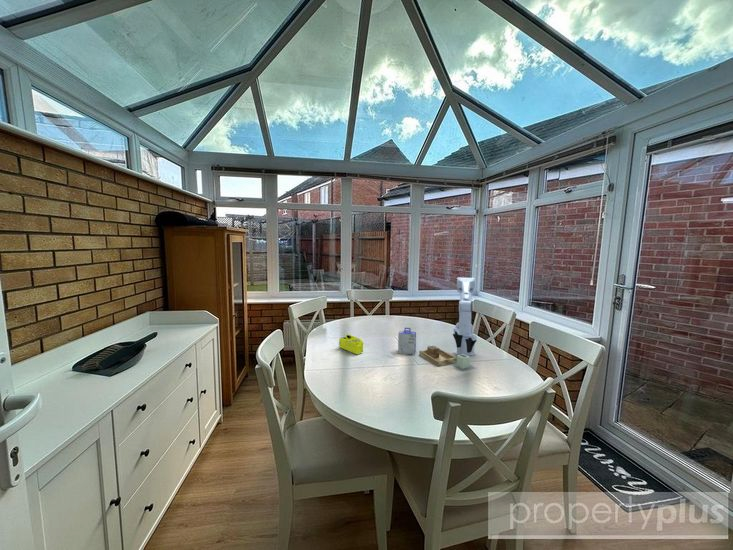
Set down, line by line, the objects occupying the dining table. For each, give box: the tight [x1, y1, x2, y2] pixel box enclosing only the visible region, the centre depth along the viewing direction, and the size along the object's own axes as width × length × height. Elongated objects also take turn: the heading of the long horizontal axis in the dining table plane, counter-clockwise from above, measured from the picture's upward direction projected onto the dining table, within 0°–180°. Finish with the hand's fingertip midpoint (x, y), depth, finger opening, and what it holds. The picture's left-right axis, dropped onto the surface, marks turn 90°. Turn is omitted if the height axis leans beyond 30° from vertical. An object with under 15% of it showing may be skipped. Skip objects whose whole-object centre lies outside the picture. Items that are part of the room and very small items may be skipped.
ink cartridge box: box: [397, 327, 417, 355], centre depth 173 cm, size 10×6×14 cm, turn 76°
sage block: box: [456, 354, 471, 369], centre depth 153 cm, size 4×4×6 cm
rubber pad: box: [449, 363, 477, 372], centre depth 154 cm, size 9×9×1 cm
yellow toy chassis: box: [338, 333, 364, 355], centre depth 177 cm, size 16×6×8 cm, turn 43°
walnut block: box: [426, 345, 440, 358], centre depth 167 cm, size 4×5×5 cm
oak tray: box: [418, 348, 457, 367], centre depth 164 cm, size 13×17×3 cm
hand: (463, 349), depth 153 cm, fingers open, 7 cm apart
